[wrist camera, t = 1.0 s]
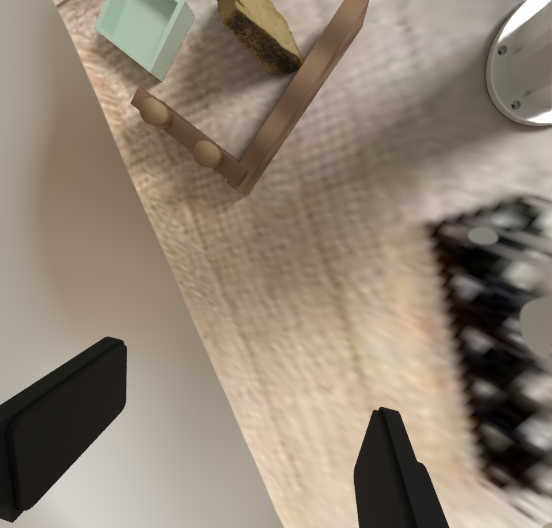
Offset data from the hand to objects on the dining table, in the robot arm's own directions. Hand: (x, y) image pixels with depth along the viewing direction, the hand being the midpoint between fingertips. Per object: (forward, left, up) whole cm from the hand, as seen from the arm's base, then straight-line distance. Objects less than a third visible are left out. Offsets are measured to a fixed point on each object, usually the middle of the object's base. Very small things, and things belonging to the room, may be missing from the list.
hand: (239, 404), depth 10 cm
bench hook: (-13, -18, -27) cm, 35 cm away
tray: (-11, -31, -27) cm, 43 cm away
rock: (-18, -19, -28) cm, 38 cm away
